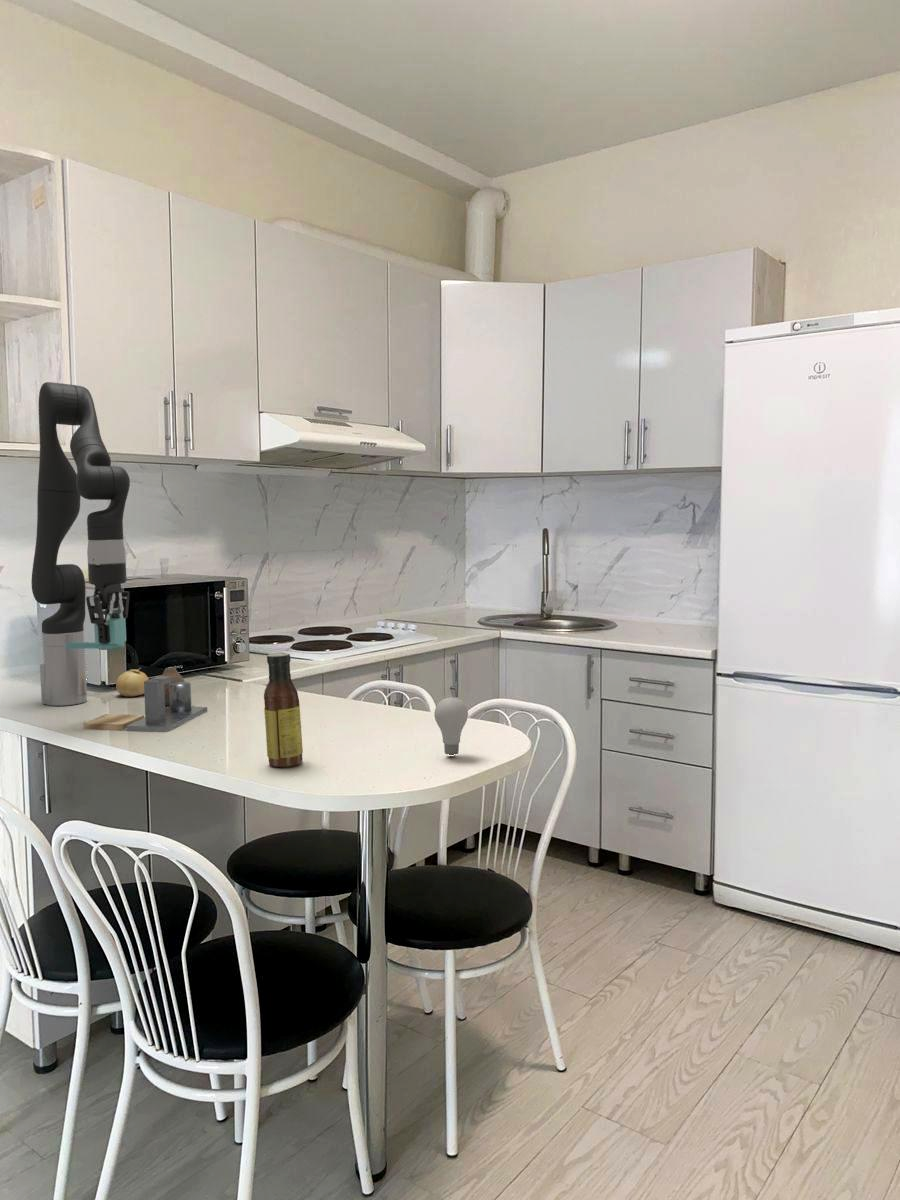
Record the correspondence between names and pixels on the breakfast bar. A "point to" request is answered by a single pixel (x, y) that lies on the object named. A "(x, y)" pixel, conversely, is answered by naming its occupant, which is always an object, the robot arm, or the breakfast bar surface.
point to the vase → (175, 678)
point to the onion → (131, 683)
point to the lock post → (155, 706)
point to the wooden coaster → (112, 722)
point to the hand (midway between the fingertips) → (110, 641)
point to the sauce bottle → (282, 714)
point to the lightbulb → (451, 722)
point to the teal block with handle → (116, 637)
